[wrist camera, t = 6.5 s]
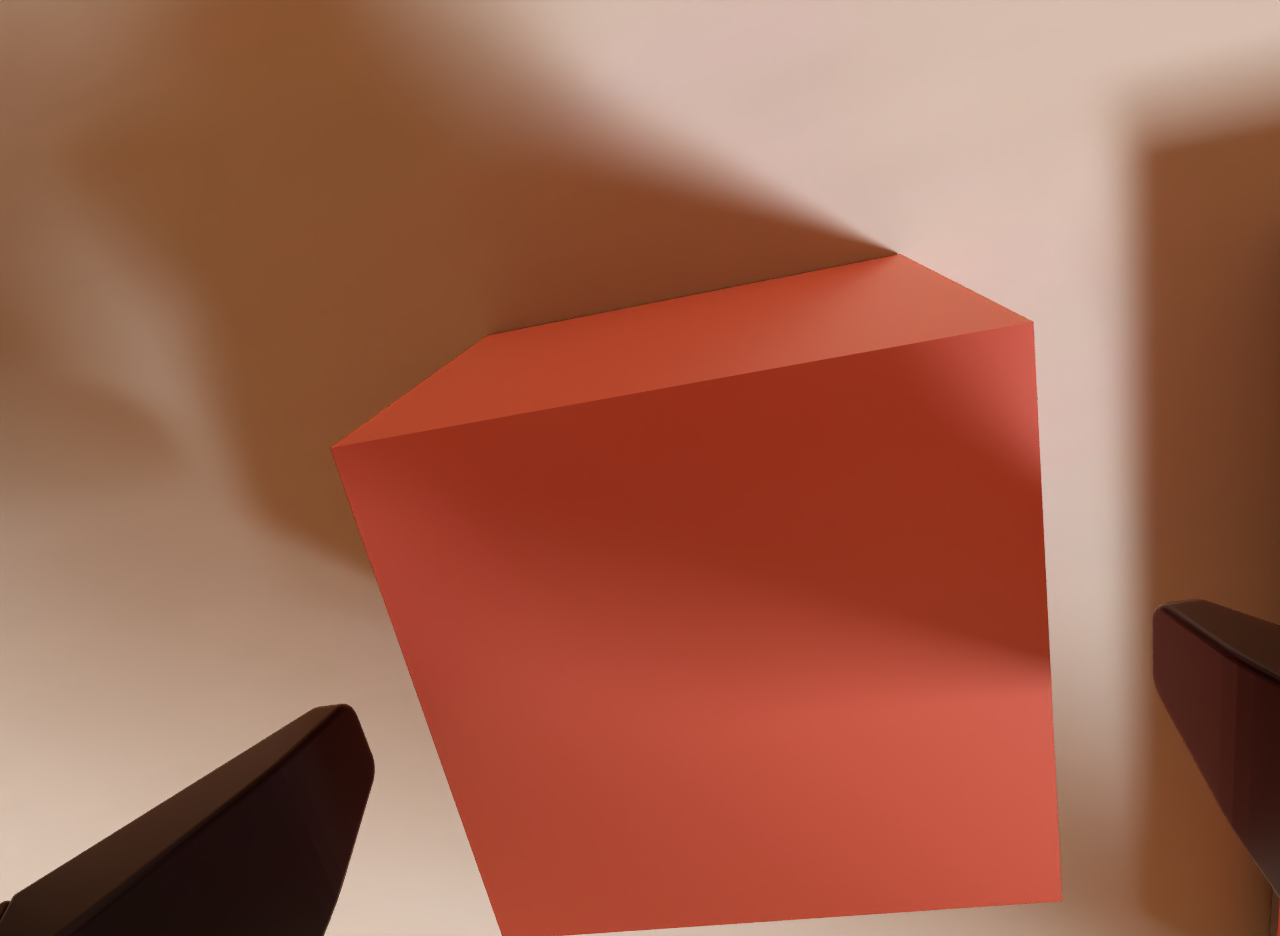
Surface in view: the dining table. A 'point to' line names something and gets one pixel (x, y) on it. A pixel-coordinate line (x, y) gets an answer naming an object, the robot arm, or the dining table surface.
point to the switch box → (1275, 915)
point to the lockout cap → (731, 603)
